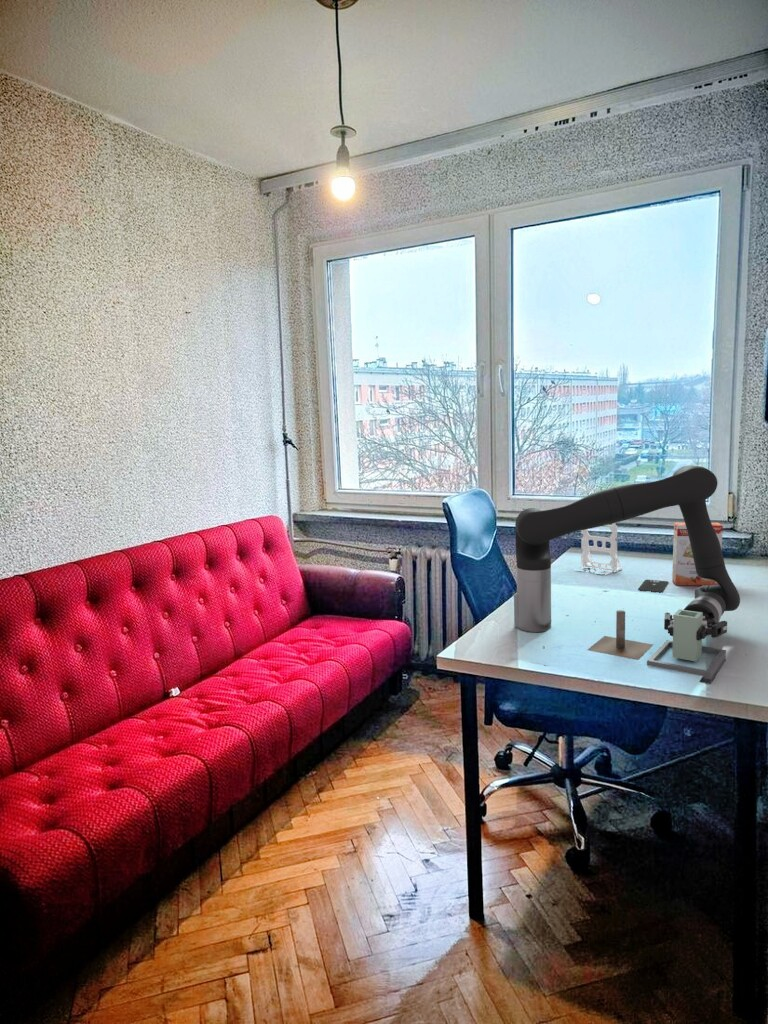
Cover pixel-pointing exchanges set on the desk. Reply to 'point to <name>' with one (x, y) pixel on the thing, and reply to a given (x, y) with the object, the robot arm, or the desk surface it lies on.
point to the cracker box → (688, 557)
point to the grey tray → (707, 674)
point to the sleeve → (686, 635)
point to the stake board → (627, 652)
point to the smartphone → (653, 586)
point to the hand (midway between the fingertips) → (684, 633)
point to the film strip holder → (600, 549)
